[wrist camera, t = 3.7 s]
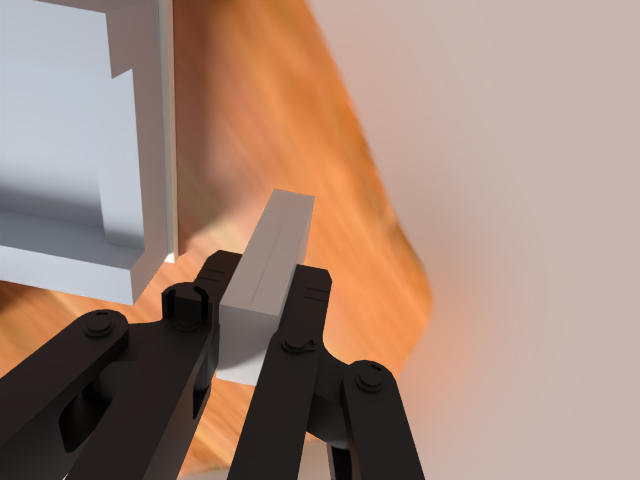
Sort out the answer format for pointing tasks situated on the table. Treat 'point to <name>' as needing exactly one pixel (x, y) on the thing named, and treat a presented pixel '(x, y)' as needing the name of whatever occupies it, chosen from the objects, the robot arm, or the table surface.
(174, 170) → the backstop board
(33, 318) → the table surface
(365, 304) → the table surface
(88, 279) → the cradle block
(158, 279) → the table surface
